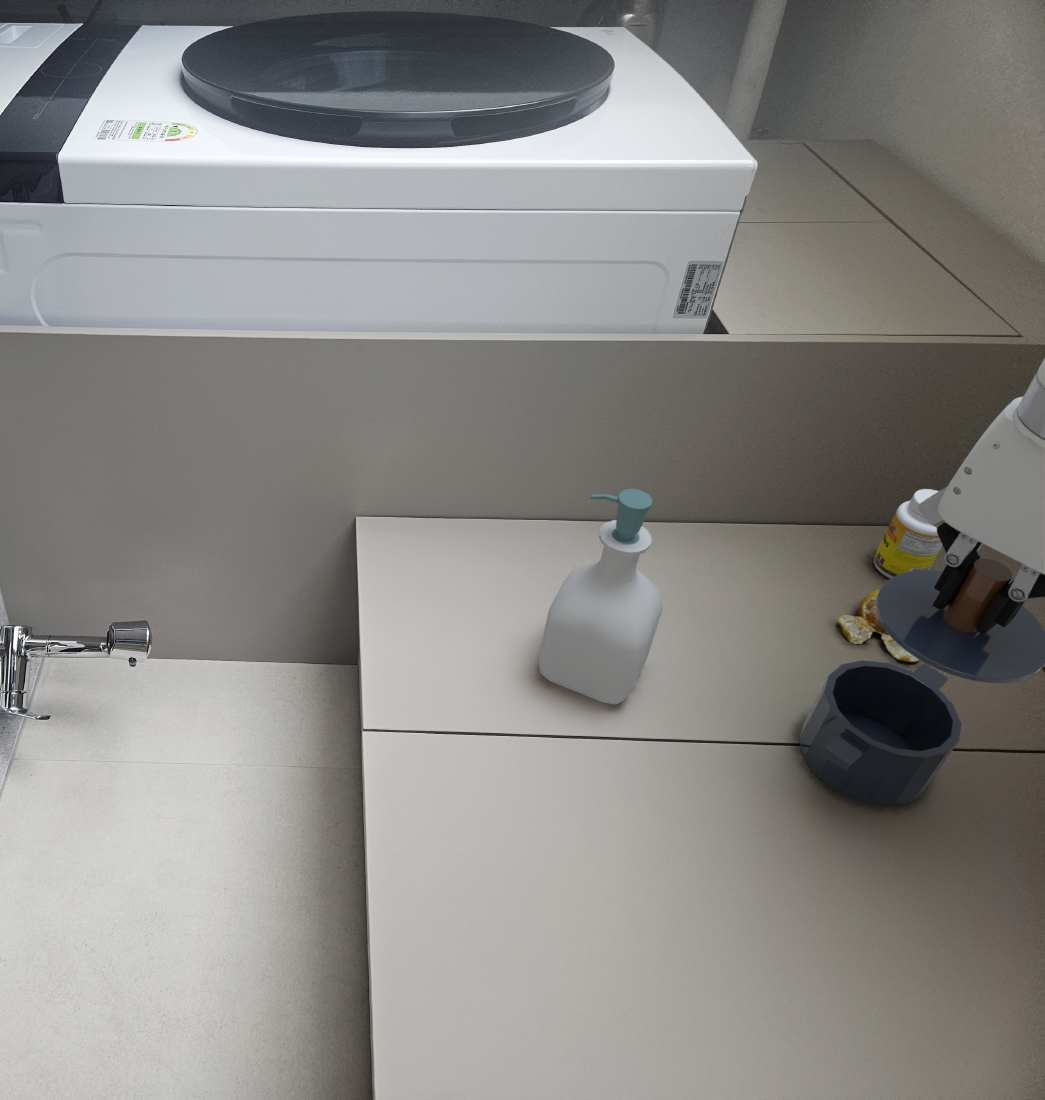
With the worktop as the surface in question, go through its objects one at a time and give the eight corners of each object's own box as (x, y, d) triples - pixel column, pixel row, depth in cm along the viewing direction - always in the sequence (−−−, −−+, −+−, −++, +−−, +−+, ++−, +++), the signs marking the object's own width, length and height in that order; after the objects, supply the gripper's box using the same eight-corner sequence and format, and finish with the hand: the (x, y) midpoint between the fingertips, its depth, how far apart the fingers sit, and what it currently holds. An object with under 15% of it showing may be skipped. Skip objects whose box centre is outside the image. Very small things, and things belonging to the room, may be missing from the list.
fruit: (831, 634, 103) (843, 610, 100) (851, 591, 108) (863, 567, 105) (915, 668, 99) (930, 644, 96) (932, 622, 104) (946, 597, 101)
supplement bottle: (879, 546, 113) (913, 477, 106) (930, 566, 110) (969, 496, 104) (865, 571, 110) (900, 502, 103) (917, 592, 107) (956, 522, 100)
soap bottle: (561, 623, 104) (600, 453, 89) (649, 656, 101) (704, 485, 86) (529, 681, 98) (565, 509, 83) (621, 718, 94) (675, 545, 79)
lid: (1072, 642, 75) (1117, 580, 70) (994, 713, 70) (1038, 652, 65) (922, 560, 82) (955, 500, 78) (842, 619, 77) (872, 559, 73)
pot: (963, 752, 91) (999, 701, 86) (868, 844, 84) (902, 794, 79) (855, 681, 98) (883, 631, 93) (759, 761, 90) (783, 711, 85)
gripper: (1259, 451, 59) (1102, 653, 71) (991, 347, 69) (893, 540, 81) (1210, 496, 56) (1054, 699, 68) (936, 380, 66) (843, 576, 78)
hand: (967, 611), depth 74 cm, fingers closed on lid, 2 cm apart
